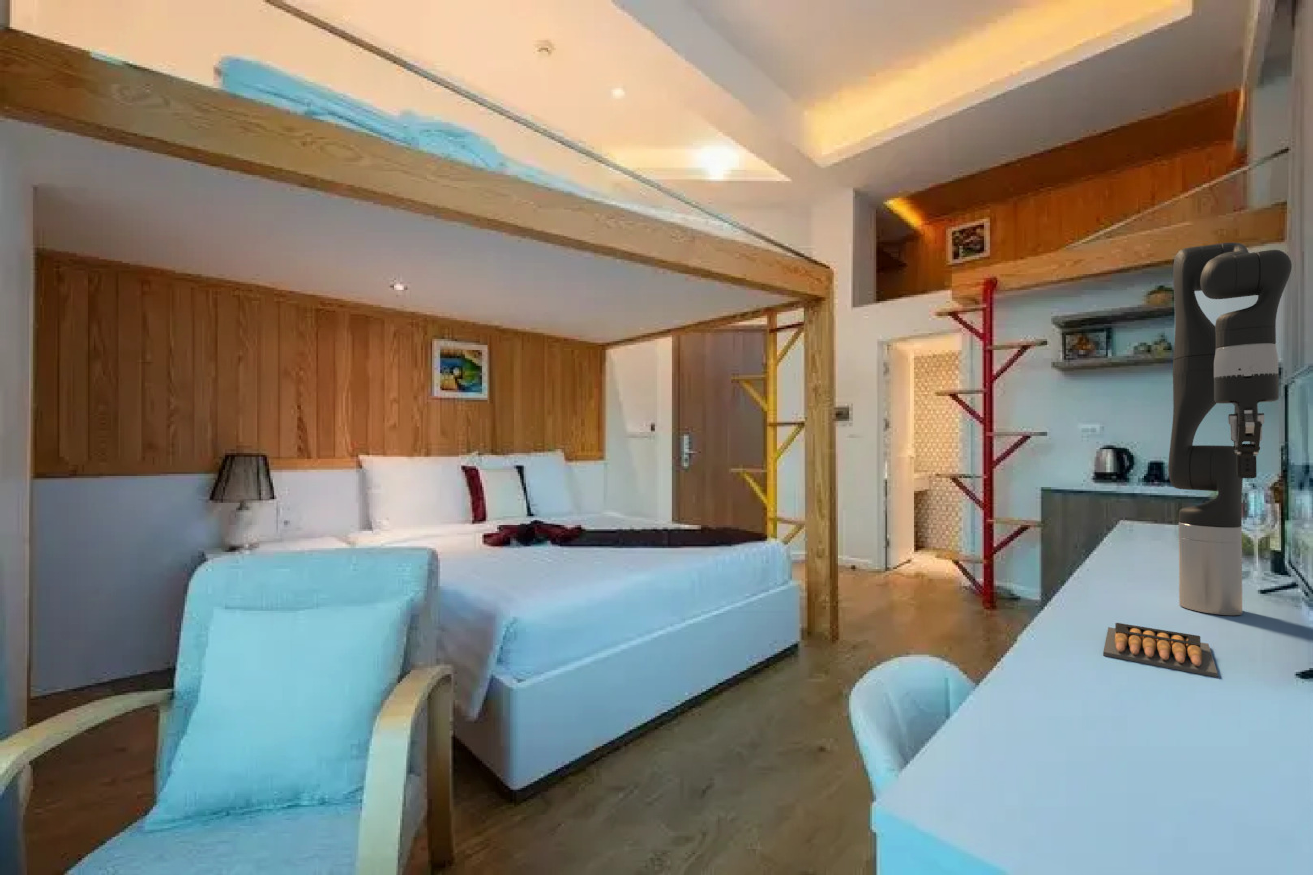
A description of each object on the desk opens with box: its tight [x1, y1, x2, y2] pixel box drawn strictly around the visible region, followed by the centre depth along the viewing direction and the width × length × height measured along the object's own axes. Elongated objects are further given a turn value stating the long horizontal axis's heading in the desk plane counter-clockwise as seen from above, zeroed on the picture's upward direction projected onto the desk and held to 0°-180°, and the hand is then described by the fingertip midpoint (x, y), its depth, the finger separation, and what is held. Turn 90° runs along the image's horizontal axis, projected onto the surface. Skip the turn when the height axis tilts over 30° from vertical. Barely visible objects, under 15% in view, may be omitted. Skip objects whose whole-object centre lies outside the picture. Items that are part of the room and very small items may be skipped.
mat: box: [1102, 626, 1219, 678], centre depth 93 cm, size 16×13×1 cm
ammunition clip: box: [1114, 622, 1202, 666], centre depth 91 cm, size 11×2×12 cm
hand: (1246, 477), depth 95 cm, fingers closed
